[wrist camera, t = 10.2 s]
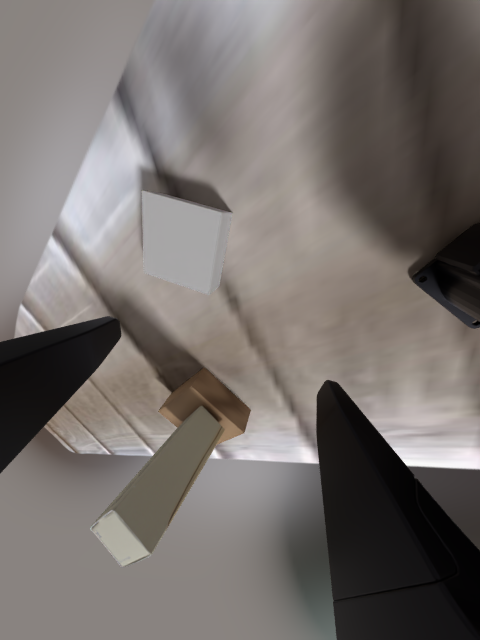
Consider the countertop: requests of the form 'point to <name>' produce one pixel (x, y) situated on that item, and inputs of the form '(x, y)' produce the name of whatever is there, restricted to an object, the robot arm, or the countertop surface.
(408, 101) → the countertop surface
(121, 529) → the skincare box
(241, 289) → the countertop surface
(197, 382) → the brown flat block
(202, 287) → the grey block
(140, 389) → the countertop surface
